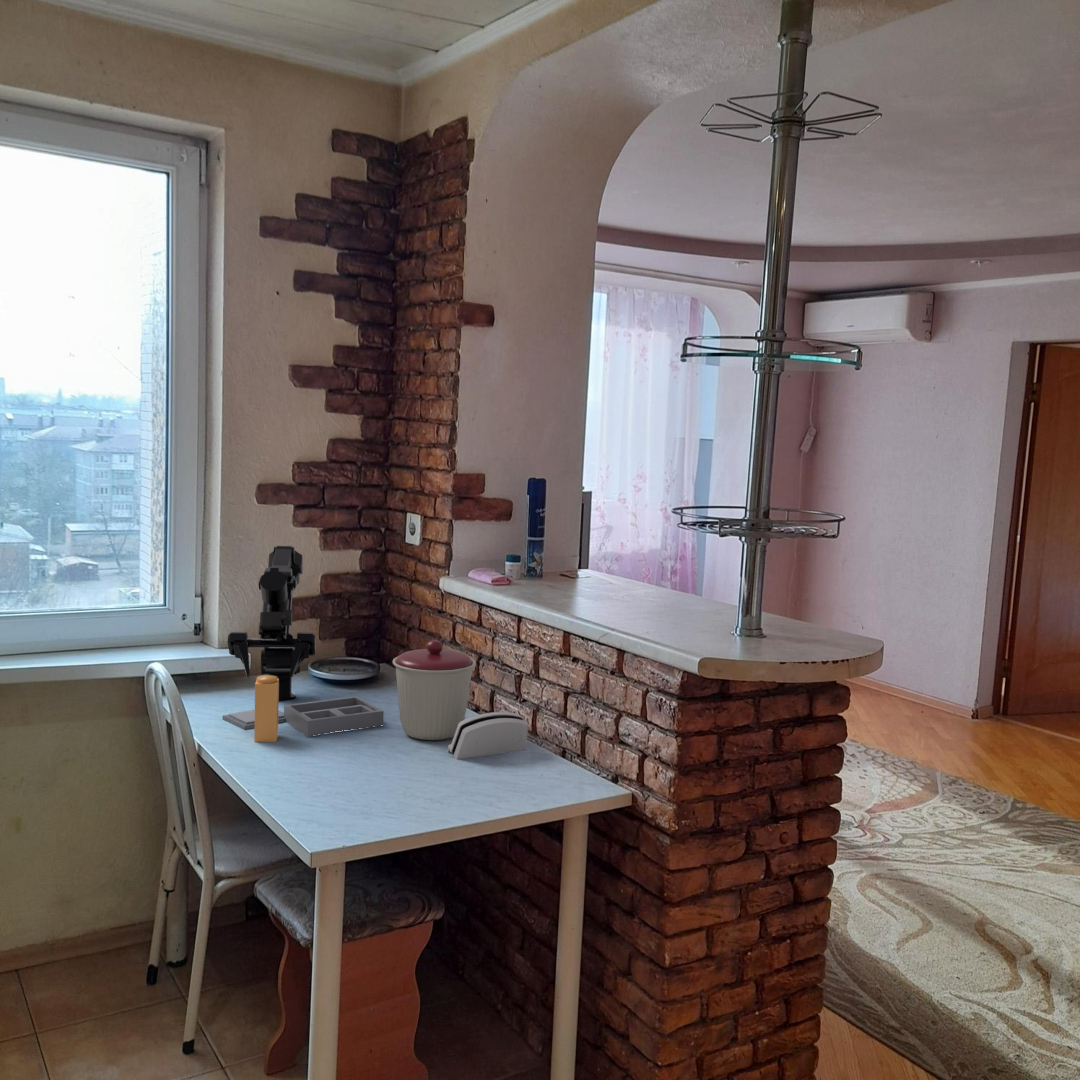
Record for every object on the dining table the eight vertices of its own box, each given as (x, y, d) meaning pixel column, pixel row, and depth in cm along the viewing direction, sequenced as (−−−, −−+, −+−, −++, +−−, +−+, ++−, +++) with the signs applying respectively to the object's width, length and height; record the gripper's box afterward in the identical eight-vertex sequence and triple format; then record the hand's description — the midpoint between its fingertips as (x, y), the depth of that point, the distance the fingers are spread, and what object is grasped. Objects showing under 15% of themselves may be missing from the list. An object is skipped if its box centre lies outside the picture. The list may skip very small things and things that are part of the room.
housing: (283, 720, 234) (284, 705, 233) (357, 710, 244) (357, 696, 244) (307, 737, 222) (307, 721, 222) (383, 726, 233) (383, 710, 232)
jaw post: (256, 735, 222) (257, 674, 221) (278, 735, 223) (278, 674, 221) (254, 741, 218) (255, 680, 216) (276, 741, 218) (277, 680, 217)
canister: (410, 718, 239) (412, 629, 237) (483, 727, 235) (487, 636, 232) (377, 740, 222) (379, 644, 220) (456, 750, 217) (459, 652, 215)
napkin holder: (515, 743, 224) (524, 704, 220) (525, 756, 221) (534, 717, 217) (445, 752, 216) (453, 712, 212) (453, 766, 213) (462, 726, 209)
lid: (222, 719, 233) (222, 713, 233) (270, 710, 241) (270, 705, 241) (244, 729, 226) (244, 724, 226) (292, 720, 234) (292, 715, 234)
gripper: (229, 596, 227) (221, 656, 217) (315, 597, 230) (312, 656, 220) (233, 624, 235) (226, 683, 225) (317, 625, 238) (313, 683, 228)
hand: (269, 676), depth 225 cm, fingers open, 9 cm apart
